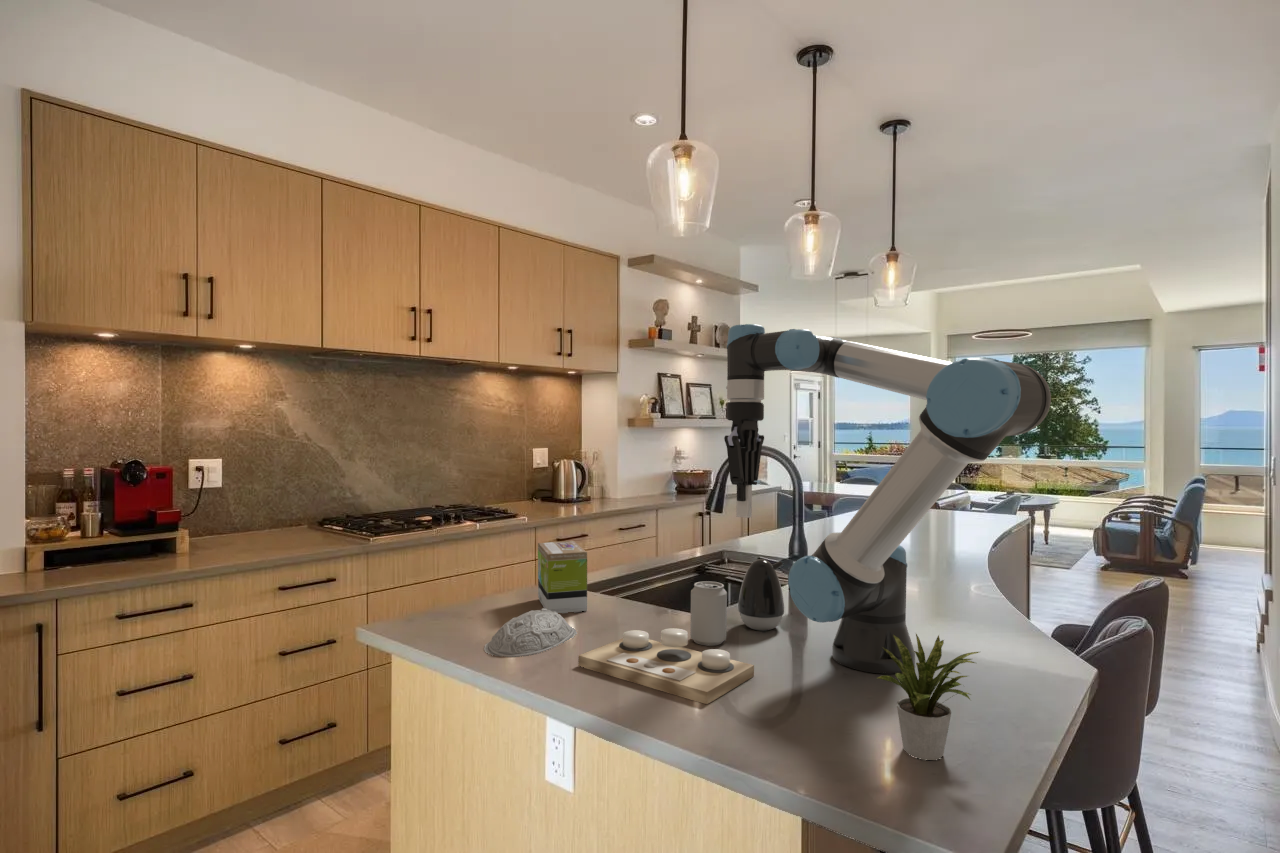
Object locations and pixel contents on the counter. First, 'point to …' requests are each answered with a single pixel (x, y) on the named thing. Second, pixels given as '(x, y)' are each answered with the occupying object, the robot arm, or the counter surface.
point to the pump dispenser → (761, 596)
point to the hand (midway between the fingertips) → (743, 516)
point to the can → (708, 613)
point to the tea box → (562, 576)
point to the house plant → (925, 699)
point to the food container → (530, 634)
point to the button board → (666, 669)
